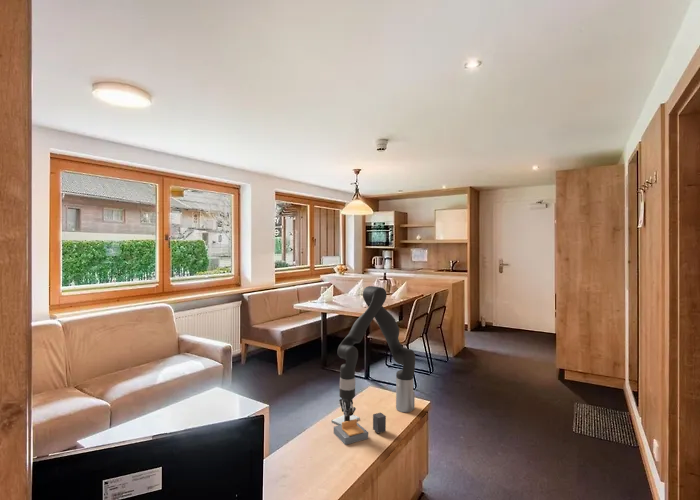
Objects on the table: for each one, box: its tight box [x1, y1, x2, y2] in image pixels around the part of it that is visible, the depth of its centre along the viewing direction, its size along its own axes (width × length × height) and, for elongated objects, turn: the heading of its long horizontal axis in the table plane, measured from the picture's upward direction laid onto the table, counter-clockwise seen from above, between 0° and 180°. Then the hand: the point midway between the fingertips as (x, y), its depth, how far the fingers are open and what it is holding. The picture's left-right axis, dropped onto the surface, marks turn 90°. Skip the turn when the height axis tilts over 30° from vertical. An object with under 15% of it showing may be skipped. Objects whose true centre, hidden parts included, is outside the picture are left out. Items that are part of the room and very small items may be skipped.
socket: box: [333, 422, 369, 446], centre depth 173 cm, size 12×12×3 cm
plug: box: [372, 412, 387, 434], centre depth 177 cm, size 4×4×8 cm
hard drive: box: [331, 414, 361, 426], centre depth 188 cm, size 2×8×12 cm
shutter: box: [342, 419, 364, 436], centre depth 171 cm, size 8×8×3 cm
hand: (347, 422), depth 176 cm, fingers closed
